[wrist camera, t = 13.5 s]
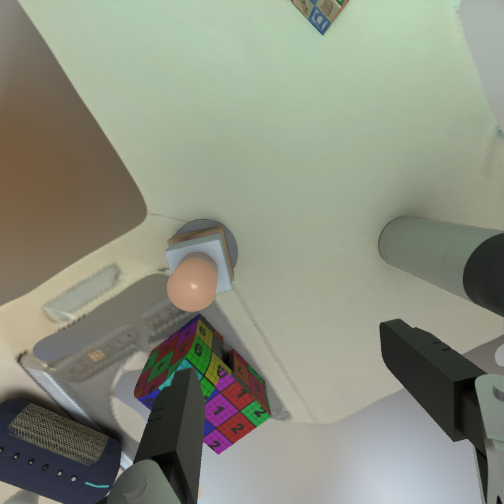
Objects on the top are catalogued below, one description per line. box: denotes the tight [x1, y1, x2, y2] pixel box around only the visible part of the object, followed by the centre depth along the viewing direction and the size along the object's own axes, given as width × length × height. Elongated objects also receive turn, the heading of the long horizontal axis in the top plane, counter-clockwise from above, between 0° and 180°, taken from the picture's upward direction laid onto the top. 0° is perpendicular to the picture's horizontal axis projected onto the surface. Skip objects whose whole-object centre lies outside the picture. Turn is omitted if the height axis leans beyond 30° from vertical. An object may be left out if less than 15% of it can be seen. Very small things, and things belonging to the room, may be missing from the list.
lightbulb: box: [2, 488, 40, 504], centre depth 46 cm, size 6×6×11 cm
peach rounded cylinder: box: [167, 252, 218, 312], centre depth 31 cm, size 5×5×6 cm
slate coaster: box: [176, 219, 237, 268], centre depth 44 cm, size 11×11×1 cm
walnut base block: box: [168, 225, 234, 281], centre depth 41 cm, size 8×8×5 cm
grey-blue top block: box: [165, 233, 232, 293], centre depth 36 cm, size 7×7×5 cm
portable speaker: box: [0, 398, 122, 504], centre depth 45 cm, size 25×10×10 cm, turn 54°
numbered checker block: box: [134, 314, 271, 454], centre depth 44 cm, size 25×17×14 cm
